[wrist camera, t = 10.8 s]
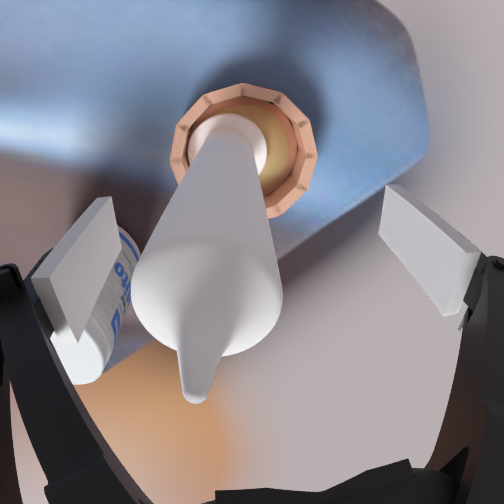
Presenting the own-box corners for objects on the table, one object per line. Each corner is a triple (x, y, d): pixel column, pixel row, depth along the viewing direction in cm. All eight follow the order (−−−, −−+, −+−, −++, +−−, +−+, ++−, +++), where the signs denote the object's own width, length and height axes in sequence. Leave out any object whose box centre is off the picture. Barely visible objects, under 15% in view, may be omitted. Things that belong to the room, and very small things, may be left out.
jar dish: (160, 109, 26) (151, 113, 23) (288, 71, 25) (296, 69, 22) (202, 222, 32) (199, 239, 29) (317, 189, 31) (328, 202, 28)
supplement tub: (157, 278, 35) (129, 382, 23) (92, 297, 36) (50, 391, 23) (119, 202, 31) (58, 287, 18) (53, 230, 31) (-16, 313, 19)
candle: (266, 112, 26) (400, 248, 5) (266, 187, 30) (329, 455, 8) (186, 115, 26) (-10, 259, 4) (191, 189, 30) (102, 452, 8)
